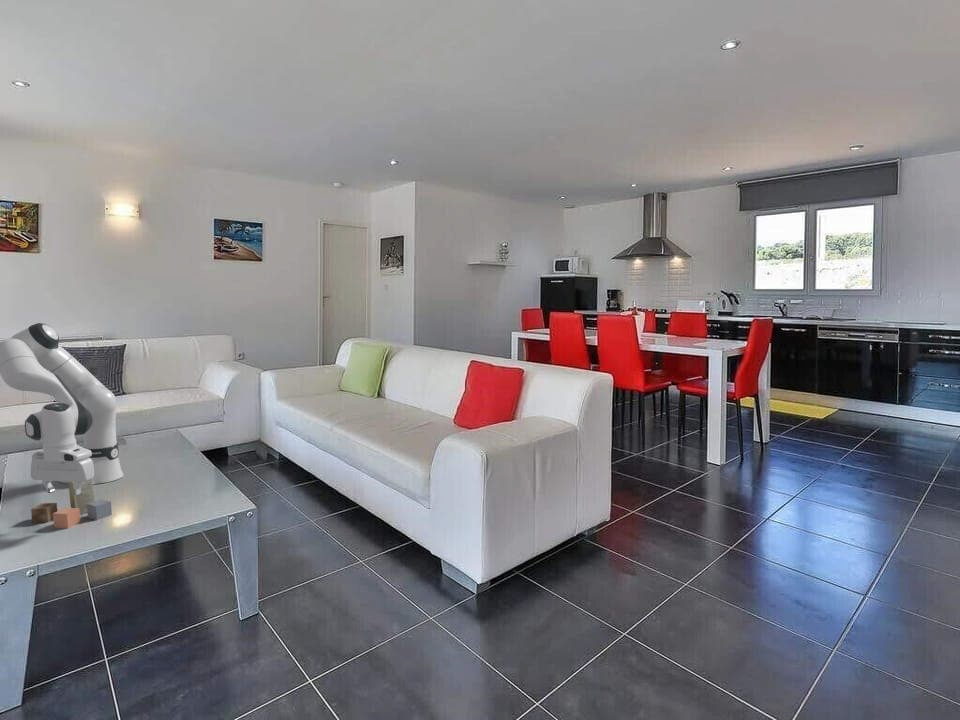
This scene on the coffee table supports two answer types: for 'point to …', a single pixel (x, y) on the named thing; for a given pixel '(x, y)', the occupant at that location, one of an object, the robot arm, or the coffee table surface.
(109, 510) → the slate cube
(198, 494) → the coffee table surface
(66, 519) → the terracotta cube
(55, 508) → the walnut cube
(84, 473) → the robot arm
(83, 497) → the skincare box
